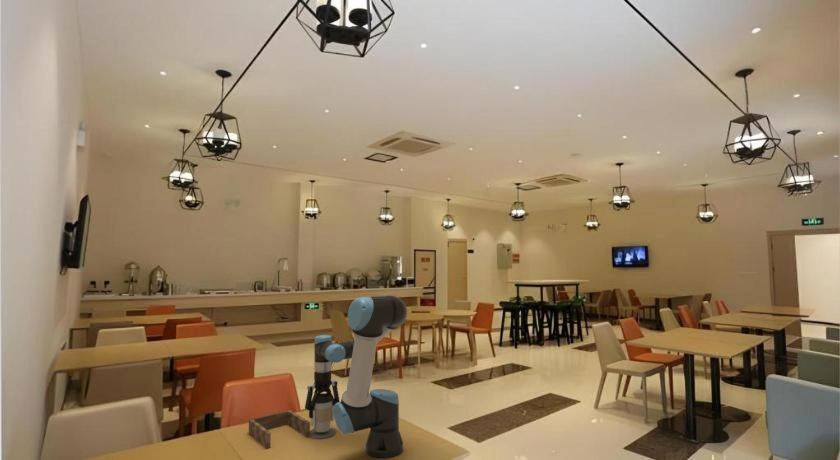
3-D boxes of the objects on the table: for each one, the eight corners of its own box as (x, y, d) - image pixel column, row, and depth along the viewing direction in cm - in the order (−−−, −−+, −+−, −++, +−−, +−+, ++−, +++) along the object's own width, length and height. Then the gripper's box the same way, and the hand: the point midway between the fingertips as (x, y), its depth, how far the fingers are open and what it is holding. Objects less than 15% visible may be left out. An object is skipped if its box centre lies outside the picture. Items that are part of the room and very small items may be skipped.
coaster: (340, 434, 189) (340, 432, 189) (316, 441, 181) (316, 440, 181) (327, 426, 198) (327, 425, 198) (303, 433, 190) (303, 431, 190)
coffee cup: (335, 426, 193) (336, 392, 194) (327, 433, 184) (327, 398, 186) (317, 424, 195) (317, 391, 196) (308, 432, 186) (308, 397, 187)
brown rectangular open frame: (309, 436, 187) (309, 422, 187) (266, 448, 174) (267, 433, 175) (289, 422, 203) (289, 409, 203) (248, 433, 191) (248, 419, 191)
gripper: (339, 365, 201) (339, 414, 200) (296, 373, 188) (296, 426, 186) (347, 368, 196) (347, 419, 194) (304, 376, 182) (303, 431, 180)
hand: (322, 422), depth 190 cm, fingers closed on coffee cup, 8 cm apart
